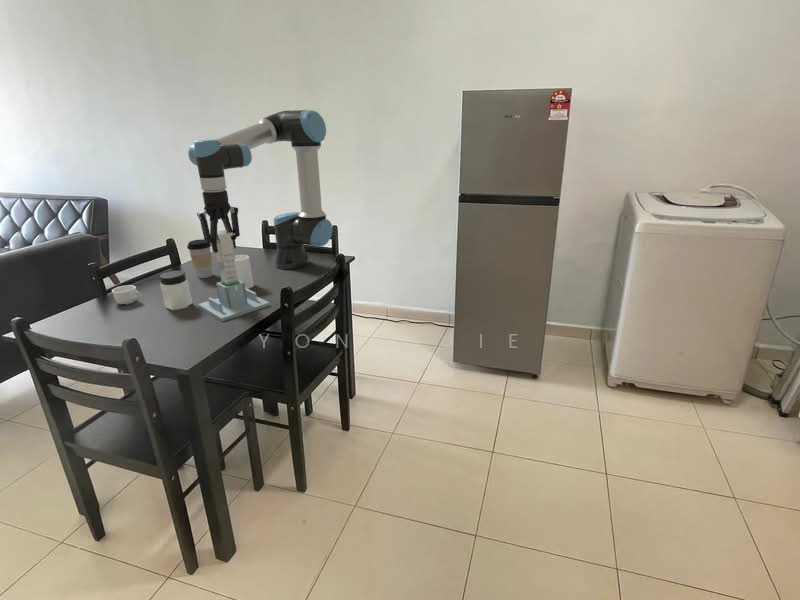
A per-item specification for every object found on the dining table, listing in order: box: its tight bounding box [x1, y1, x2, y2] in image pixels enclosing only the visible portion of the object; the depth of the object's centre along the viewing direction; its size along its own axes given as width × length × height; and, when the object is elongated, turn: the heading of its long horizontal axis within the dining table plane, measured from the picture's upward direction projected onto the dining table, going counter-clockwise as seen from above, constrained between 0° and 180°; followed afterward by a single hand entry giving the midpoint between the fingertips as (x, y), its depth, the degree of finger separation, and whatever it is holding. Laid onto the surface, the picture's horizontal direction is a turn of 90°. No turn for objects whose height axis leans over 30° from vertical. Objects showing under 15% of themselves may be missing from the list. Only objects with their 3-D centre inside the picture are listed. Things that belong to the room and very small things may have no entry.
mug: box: [235, 254, 255, 290], centre depth 178 cm, size 12×8×12 cm
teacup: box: [111, 284, 142, 305], centre depth 167 cm, size 10×8×5 cm
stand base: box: [197, 280, 271, 322], centre depth 161 cm, size 18×18×9 cm
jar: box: [159, 270, 193, 311], centre depth 162 cm, size 9×8×12 cm
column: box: [216, 229, 239, 287], centre depth 156 cm, size 5×5×20 cm
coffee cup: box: [186, 238, 213, 279], centre depth 191 cm, size 9×9×15 cm
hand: (226, 259), depth 156 cm, fingers closed on column, 4 cm apart
